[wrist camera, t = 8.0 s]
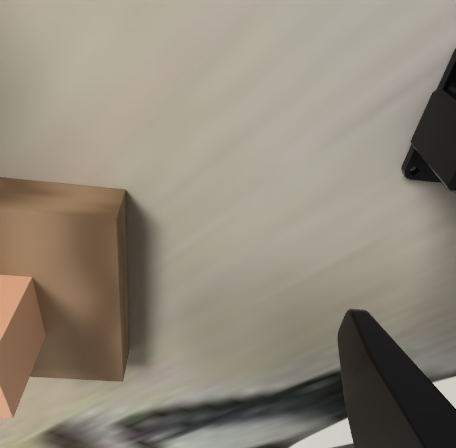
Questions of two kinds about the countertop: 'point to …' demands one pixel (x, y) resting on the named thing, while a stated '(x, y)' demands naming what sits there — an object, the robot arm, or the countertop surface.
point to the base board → (71, 273)
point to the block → (17, 339)
